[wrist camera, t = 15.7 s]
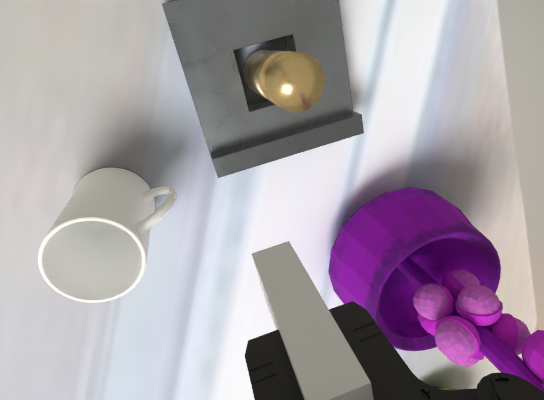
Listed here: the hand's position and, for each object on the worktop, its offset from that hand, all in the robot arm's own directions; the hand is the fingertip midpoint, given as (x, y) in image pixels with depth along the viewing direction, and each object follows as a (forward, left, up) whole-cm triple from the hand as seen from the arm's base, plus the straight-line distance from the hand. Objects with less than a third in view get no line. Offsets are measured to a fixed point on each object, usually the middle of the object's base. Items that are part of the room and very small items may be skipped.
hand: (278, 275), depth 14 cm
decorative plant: (+22, +18, -29) cm, 40 cm away
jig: (-4, +7, -28) cm, 30 cm away
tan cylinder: (-4, +7, -28) cm, 30 cm away
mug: (+5, -11, -29) cm, 31 cm away
